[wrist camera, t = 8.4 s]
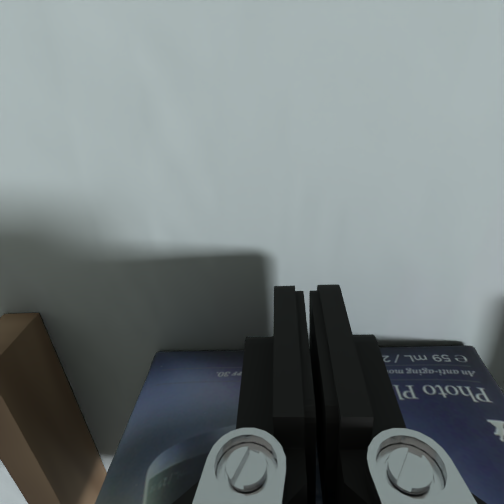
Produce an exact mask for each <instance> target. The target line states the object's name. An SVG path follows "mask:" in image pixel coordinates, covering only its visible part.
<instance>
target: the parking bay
mask: <svg viewBox="0 0 504 504" xmlns="http://www.w3.org/2000/svg"><path fill="white" fill-rule="evenodd" d="M0 459H1V461H2V462H3V464H4V465H5V467H6V469H7V470H8V472H9V473H10V475H11V477H12V478H13V480H14V482H15V483H16V485H17V486H18V488H19V490H20V491H21V493H22V494H23V496H24V498H25V499H26V501H27V502H28V504H95V502H96V499H97V497H98V495H99V492H100V490H101V487H102V485H103V482H104V480H105V477H106V475H107V473H106V470H105V468H104V465H103V463H102V461H101V458H100V456H99V454H98V451H97V449H96V447H95V444H94V442H93V439H92V437H91V435H90V432H89V430H88V428H87V425H86V423H85V421H84V418H83V416H82V413H81V411H80V409H79V406H78V404H77V402H76V399H75V397H74V395H73V392H72V390H71V388H70V385H69V383H68V380H67V378H66V376H65V373H64V371H63V369H62V366H61V364H60V362H59V359H58V357H57V354H56V352H55V350H54V347H53V345H52V343H51V340H50V338H49V336H48V333H47V331H46V328H45V326H44V324H43V321H42V319H41V317H40V314H39V313H15V314H4V315H2V316H1V317H0Z"/></svg>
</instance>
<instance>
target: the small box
mask: <svg viewBox="0 0 504 504" xmlns="http://www.w3.org/2000/svg"><path fill="white" fill-rule="evenodd" d="M309 350H310V349H309ZM380 351H381V354H382V357H383V360H384V363H385V366H386V369H387V372H388V375H389V378H390V381H391V384H392V387H393V390H394V392H395V395H396V398H397V401H398V404H399V407H400V410H401V413H402V416H403V419H404V422H405V425H406V428H407V429H410V430H414V431H418V432H420V433H422V434H424V435H426V436H428V437H430V438H431V439H433V440H434V441H435V442H436V443H437V444H439V445H440V446H441V447H442V448H443V449H444V450H445V452H446V453H447V454H448V456H449V457H450V458H451V460H452V461H453V463H454V465H455V466H456V468H457V470H458V472H459V473H460V475H461V477H462V478H463V480H464V482H465V484H466V485H467V487H468V489H469V490H470V492H471V493H473V494H474V495H476V496H477V497H478V498H480V499H481V500H483V501H484V502H485V503H487V504H504V394H503V392H502V391H501V389H500V388H499V386H498V384H497V383H496V381H495V380H494V378H493V377H492V375H491V374H490V372H489V371H488V369H487V368H486V366H485V365H484V363H483V361H482V360H481V358H480V356H479V355H478V353H477V351H476V350H475V348H474V347H473V346H430V347H384V348H380ZM243 357H244V350H236V351H173V352H162V351H160V352H157V353H156V354H155V356H154V359H153V361H152V363H151V367H150V370H149V372H148V375H147V377H146V380H145V383H144V385H143V387H142V390H141V392H140V395H139V397H138V399H137V402H136V404H135V407H134V409H133V411H132V414H131V416H130V418H129V421H128V424H127V426H126V429H125V431H124V434H123V436H122V438H121V440H120V442H119V445H118V448H117V451H116V453H115V456H114V458H113V460H112V462H111V465H110V467H109V469H108V472H107V475H106V477H105V480H104V482H103V485H102V487H101V490H100V492H99V495H98V497H97V499H96V502H95V504H172V503H173V502H174V501H176V500H177V499H178V498H179V497H180V496H182V495H183V494H184V493H185V492H186V491H187V490H189V489H190V488H191V487H192V486H193V485H194V484H196V483H197V482H198V481H199V480H200V478H201V475H202V472H203V469H204V466H205V463H206V460H207V457H208V455H209V453H210V451H211V449H212V447H213V445H214V444H215V443H216V442H217V441H218V440H219V439H220V438H221V437H222V436H224V435H225V434H227V433H229V432H230V431H233V430H236V422H237V413H238V403H239V394H240V385H241V376H242V367H243ZM316 504H323V501H322V491H321V481H320V471H319V461H318V451H317V440H316Z"/></svg>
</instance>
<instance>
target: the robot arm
mask: <svg viewBox="0 0 504 504" xmlns="http://www.w3.org/2000/svg"><path fill="white" fill-rule="evenodd" d="M316 440H317V451H318V461H319V471H320V481H321V491H322V501H323V504H487V503H485V502H484V501H483V500H481V499H480V498H478V497H477V496H476V495H474V494H473V493H471V492H470V490H469V489H468V487H467V485H466V484H465V482H464V480H463V478H462V477H461V475H460V473H459V472H458V470H457V468H456V466H455V465H454V463H453V461H452V460H451V458H450V457H449V456H448V454H447V453H446V452H445V450H444V449H443V448H442V447H441V446H440V445H439V444H437V443H436V442H435V441H434V440H433V439H431V438H430V437H428V436H426V435H424V434H422V433H420V432H418V431H414V430H410V429H407V428H406V425H405V422H404V419H403V416H402V413H401V410H400V407H399V404H398V401H397V398H396V395H395V392H394V390H393V387H392V384H391V381H390V378H389V375H388V372H387V369H386V366H385V363H384V360H383V357H382V354H381V351H380V348H379V345H378V342H377V340H376V337H375V336H374V335H352V331H351V327H350V324H349V320H348V316H347V312H346V308H345V304H344V301H343V297H342V293H341V289H340V286H339V284H338V285H318V286H317V291H310V350H309V340H308V331H307V322H306V312H305V303H304V293H303V291H295V286H274V336H271V337H246V340H245V348H244V357H243V367H242V376H241V385H240V394H239V403H238V413H237V422H236V430H233V431H230V432H229V433H227V434H225V435H224V436H222V437H221V438H220V439H219V440H218V441H217V442H216V443H215V444H214V445H213V447H212V449H211V451H210V453H209V455H208V457H207V460H206V463H205V466H204V469H203V472H202V475H201V478H200V480H199V481H198V482H197V483H196V484H194V485H193V486H192V487H191V488H190V489H189V490H187V491H186V492H185V493H184V494H183V495H182V496H180V497H179V498H178V499H177V500H176V501H174V502H173V503H172V504H316Z"/></svg>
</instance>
